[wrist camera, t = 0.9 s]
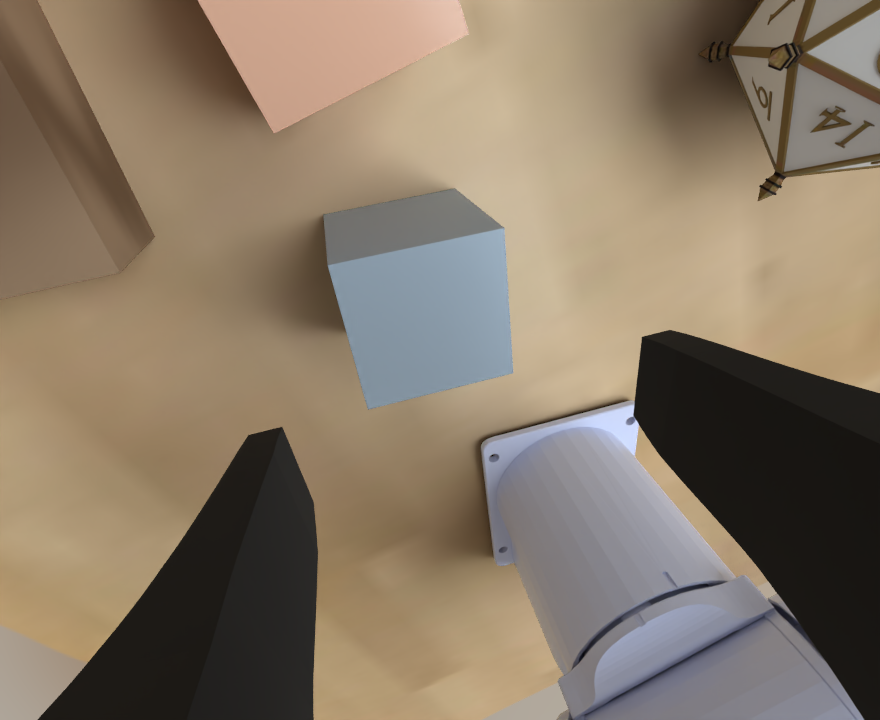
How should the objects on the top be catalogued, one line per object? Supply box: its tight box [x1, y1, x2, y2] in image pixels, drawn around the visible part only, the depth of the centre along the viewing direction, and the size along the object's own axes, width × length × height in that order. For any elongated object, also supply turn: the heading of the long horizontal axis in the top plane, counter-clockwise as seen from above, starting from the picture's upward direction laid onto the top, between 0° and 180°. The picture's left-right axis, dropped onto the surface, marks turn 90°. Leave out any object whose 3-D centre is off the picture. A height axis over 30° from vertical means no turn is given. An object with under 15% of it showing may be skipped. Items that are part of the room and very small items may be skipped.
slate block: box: [323, 189, 513, 409], centre depth 15 cm, size 4×4×5 cm
